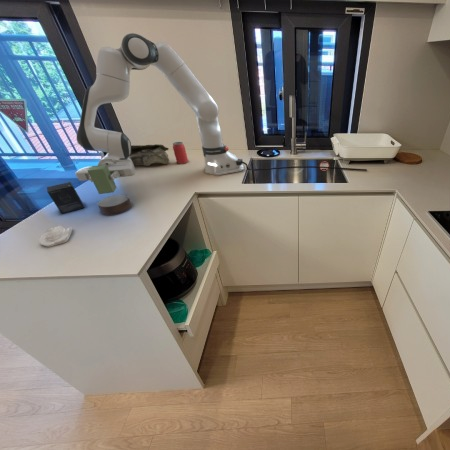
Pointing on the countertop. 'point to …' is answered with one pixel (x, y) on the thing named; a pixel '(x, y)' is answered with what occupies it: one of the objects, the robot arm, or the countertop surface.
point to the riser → (114, 204)
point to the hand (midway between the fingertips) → (101, 179)
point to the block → (102, 179)
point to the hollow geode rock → (148, 154)
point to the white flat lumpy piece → (55, 236)
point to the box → (65, 197)
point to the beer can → (180, 152)
